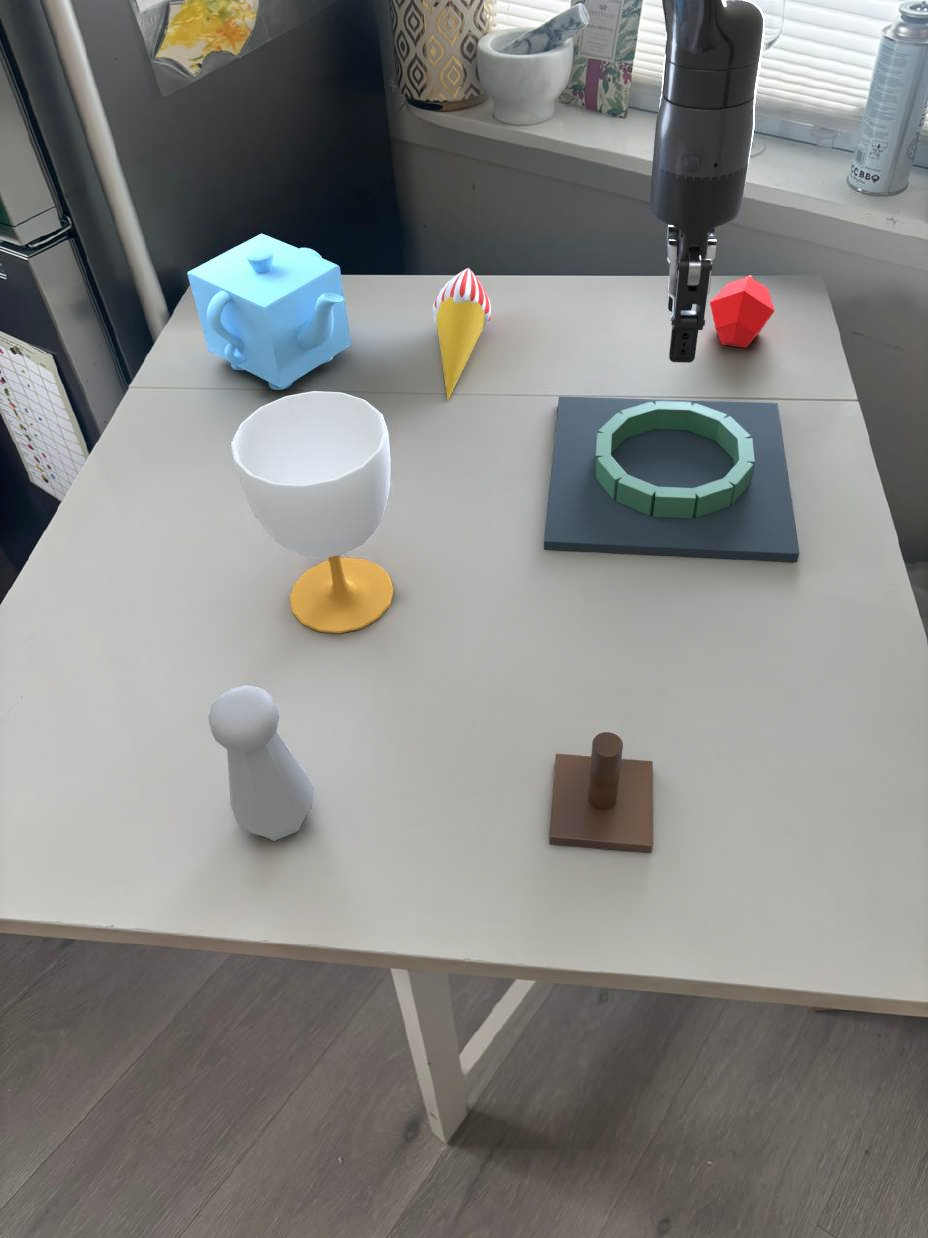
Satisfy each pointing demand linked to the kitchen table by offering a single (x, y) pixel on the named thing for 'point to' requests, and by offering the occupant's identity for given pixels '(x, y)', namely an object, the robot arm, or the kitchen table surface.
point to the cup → (321, 499)
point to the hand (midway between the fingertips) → (680, 334)
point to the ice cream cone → (460, 322)
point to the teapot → (271, 309)
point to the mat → (669, 460)
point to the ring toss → (603, 799)
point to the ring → (670, 498)
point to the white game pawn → (260, 764)
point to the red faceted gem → (741, 311)
